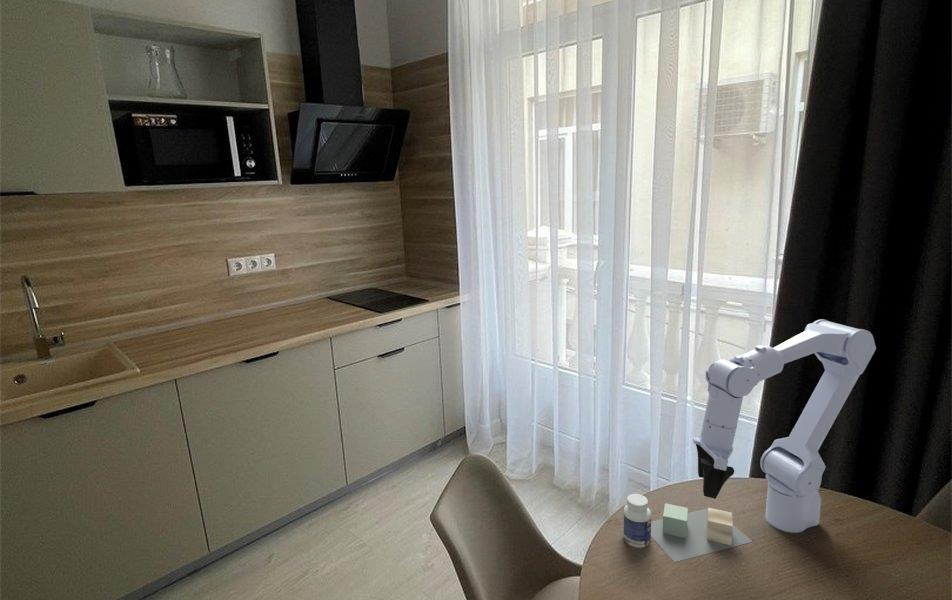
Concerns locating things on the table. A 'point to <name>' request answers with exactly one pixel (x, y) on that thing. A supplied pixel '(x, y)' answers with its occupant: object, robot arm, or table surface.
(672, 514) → the sage block
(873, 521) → the table surface
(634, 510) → the pill bottle
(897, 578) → the table surface
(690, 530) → the board
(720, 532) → the birch block
